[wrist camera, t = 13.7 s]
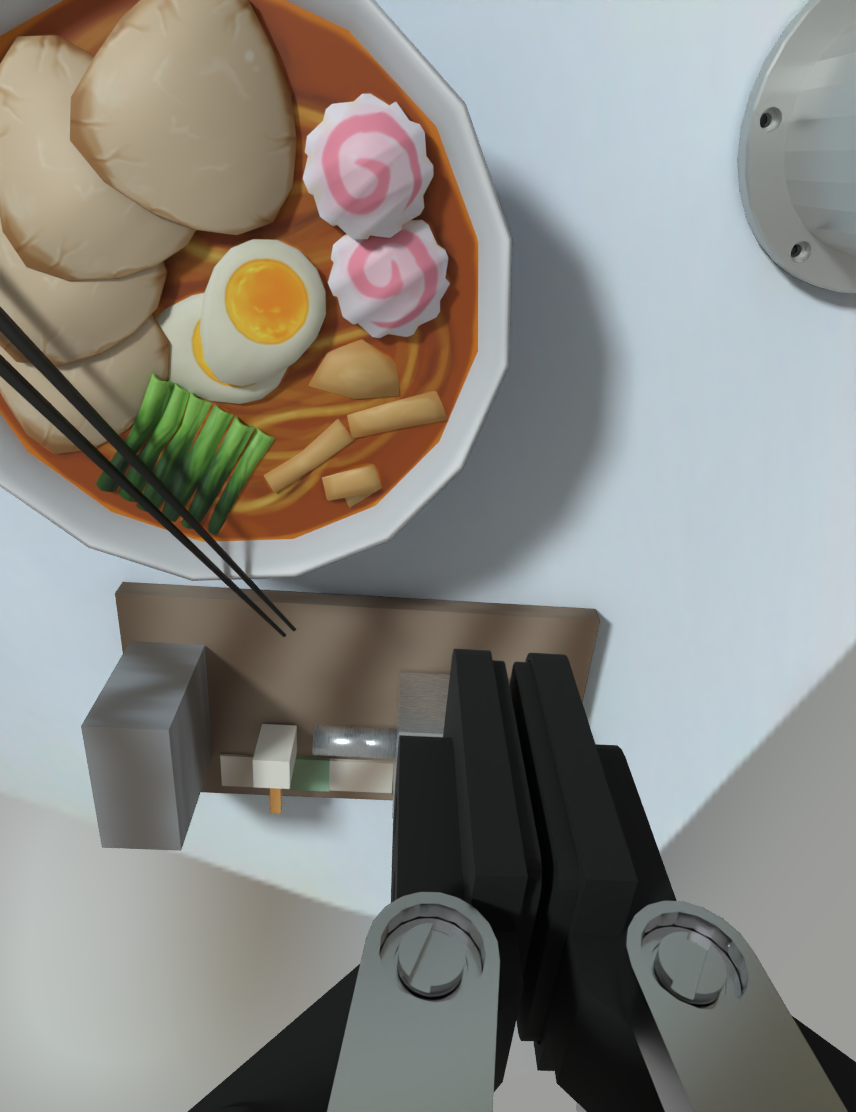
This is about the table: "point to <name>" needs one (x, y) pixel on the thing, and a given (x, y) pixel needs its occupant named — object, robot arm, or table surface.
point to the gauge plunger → (415, 717)
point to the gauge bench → (276, 690)
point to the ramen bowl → (239, 280)
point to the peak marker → (275, 761)
